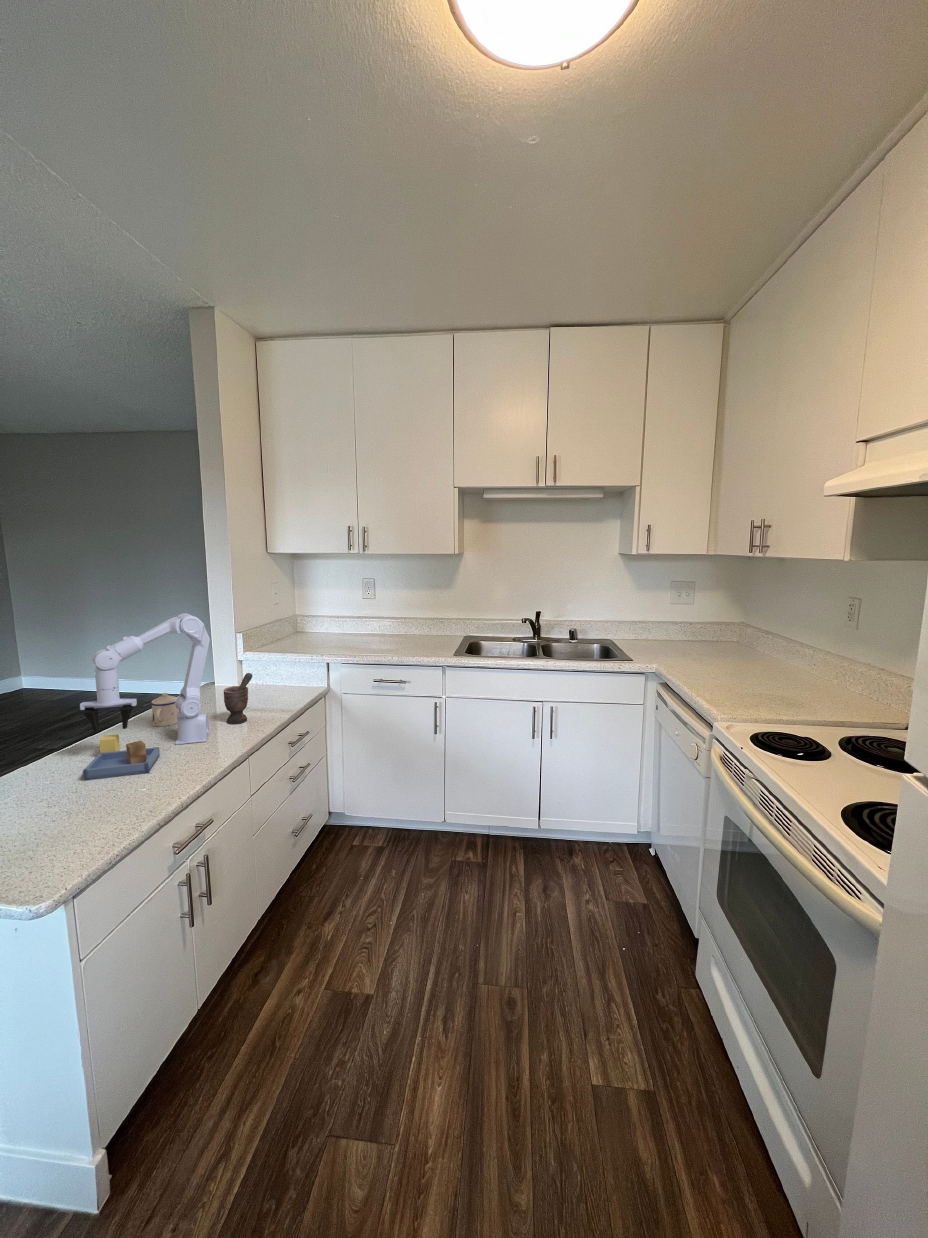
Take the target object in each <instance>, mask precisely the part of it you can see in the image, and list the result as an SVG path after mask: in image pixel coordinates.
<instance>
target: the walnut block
mask: <svg viewBox="0 0 928 1238" xmlns="http://www.w3.org/2000/svg"><path fill="white" fill-rule="evenodd" d="M146 746H147V745H146V743H145V742H144V741H143V740H138V741H137V740H136V741H133V742H129V743H125V747H126V749H125V750H127V763H128V764H136V763H145V762H146V761H147V760H146V748H147V747H146Z"/></svg>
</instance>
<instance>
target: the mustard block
mask: <svg viewBox="0 0 928 1238" xmlns="http://www.w3.org/2000/svg"><path fill="white" fill-rule="evenodd" d="M99 749H100V751H99V753H104V752H114V751H121V747H120V734H108V735H106V734H105V735H103V736H102V737H101V738H100V739H99Z"/></svg>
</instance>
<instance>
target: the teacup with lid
mask: <svg viewBox="0 0 928 1238" xmlns="http://www.w3.org/2000/svg"><path fill="white" fill-rule="evenodd" d="M177 698H178V696H172V695H170V694H169V693H167V692H163V693H162V694H161V695H160V696H158V697H157V698H155V699H153V700H151V702H150V705H151V710H152V711H151V712H152V713H151V714H152V725H153V726H155V727H168V725H169V726H172V725H177V714H178V712H179V710H178V709H177V708H176V706H175V701H176V699H177Z"/></svg>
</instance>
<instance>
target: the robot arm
mask: <svg viewBox="0 0 928 1238" xmlns="http://www.w3.org/2000/svg"><path fill="white" fill-rule="evenodd" d="M181 633H184V634H185V635H186V636H187V637H188V638H189V640H190V641H191V642H192V645H191V649H190V650H191V651H190V654H189V659H188V664H187V669H186V674H185V678H184V683H183V686H182V688H181V690H180V691H179V695H178V696H177V699H176V701H175V706H176V708H177V709H178V710H179V712H178V714H177V723H176V726H177V739H176V741H175V743H174V745H182V744H183V745H184V744H194V743H202V742H203V743H204V742H206V741H207V740H208V738H209V736H210V726H209V714H208V713H201V711H202V704H201V684H202V681H203V675H204V670H205V666H206V660H207V655H208V651H209V647H210V642H211V638H210V636H209V634H208V632H207V629H206V627H205V623H204V622H202V621H201V620H200V619H199V617H196V616H194V615H191V614H190V613H186V612H185V613H180V614H179V615H177V616H174V617H171V618H169V619H167V620H165V621H164V622H161V623H160V624H158V625H156V626H155V627H153V628H151V629H149V630H147V631H146V632H144V633H142V634H140V635H139V636H134V635H129V636H125V635H124V636H123V637H122V638H121V639H122V640H120V641H118V642H116V643H114V644H112V645H107V646H106V649H104V648H103V649H100V650H98V651H96V652H95V654H94V655H93V658H92V661H93V664H94V665H95V668H94V672H95V675H94V678H95V689H96V700H91V701H83V702H81V703H80V704H79V710H80V711H83V715H84V716H85V717H86V719H87V720H88V721H89V723H90V725H91V727H92V730H93V732H98V731H99V729H100V725H99V724H100V723H99V709H102V708H103V709H104V708H117V707H121V708H120V714H121V719H122V720H121V721H122V723H121V724H122V729H123V730H126V729H127V728H128V723H129V719H130V716H131V712H132V711H133V709H134V707H136V706H137V704H138V703H137V701H138V700H137V699H138V698H121V697H120V685H119V672H118V671H117V667H118V664H119V662H120V663H121V662H123V661H125V660H127V659H130V658H131V657H133V656H135V655H137V654H139V653H140V652H142V651H143V649H144V646H145V645H147V644H149V643H151V642H153V641H155V640H157V639H159V638H162V637H164V636H167V635H168V634H181Z"/></svg>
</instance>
